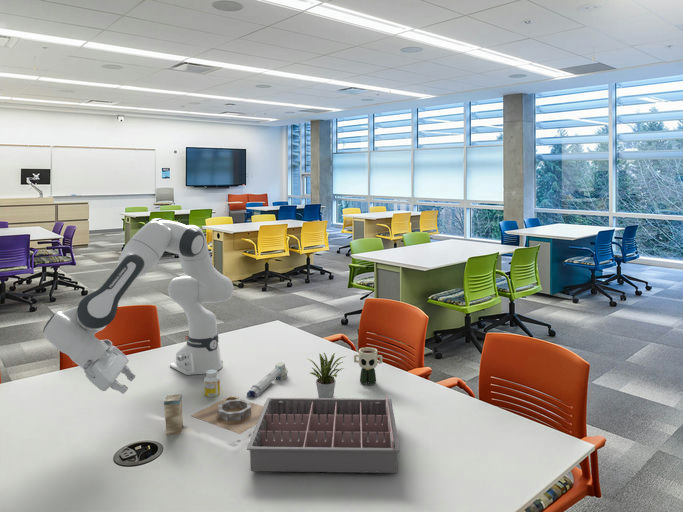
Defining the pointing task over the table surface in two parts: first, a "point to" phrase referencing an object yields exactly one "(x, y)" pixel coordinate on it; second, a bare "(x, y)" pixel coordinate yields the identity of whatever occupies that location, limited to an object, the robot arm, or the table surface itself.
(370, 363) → the character mug
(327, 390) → the house plant
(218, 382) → the supplement bottle
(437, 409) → the table surface
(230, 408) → the collar board
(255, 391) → the electric toothbrush
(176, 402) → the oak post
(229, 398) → the oak ring
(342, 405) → the organizer tray
